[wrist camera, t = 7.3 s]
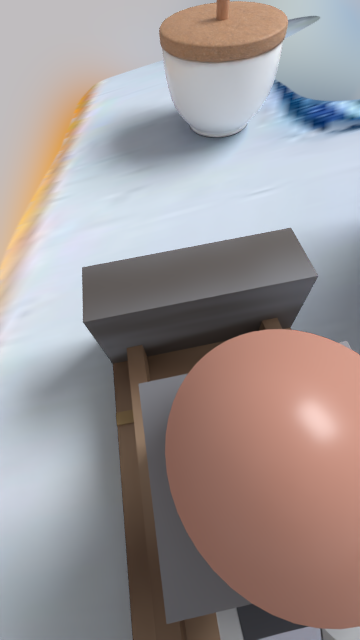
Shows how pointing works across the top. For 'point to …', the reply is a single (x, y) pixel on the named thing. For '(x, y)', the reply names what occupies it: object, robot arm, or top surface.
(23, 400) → the top surface
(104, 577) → the top surface
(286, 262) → the base
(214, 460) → the dome-capped grey post
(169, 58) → the lidded jar
